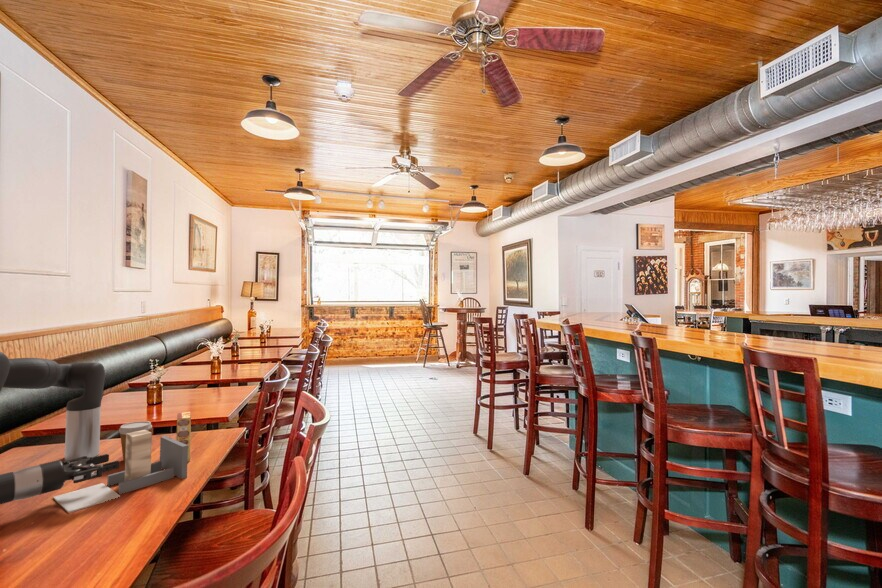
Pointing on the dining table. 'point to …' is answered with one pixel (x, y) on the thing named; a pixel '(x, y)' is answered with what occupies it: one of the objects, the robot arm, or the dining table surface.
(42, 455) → the dining table surface
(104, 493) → the mat
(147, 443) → the ash block
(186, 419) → the candy box
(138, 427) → the disposable coffee cup
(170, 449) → the lane rack
